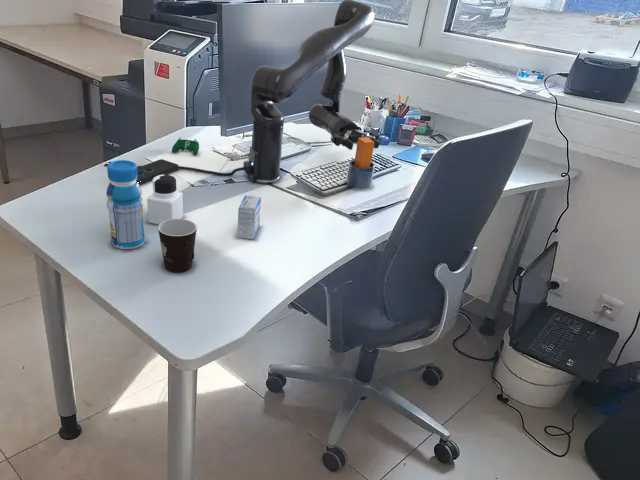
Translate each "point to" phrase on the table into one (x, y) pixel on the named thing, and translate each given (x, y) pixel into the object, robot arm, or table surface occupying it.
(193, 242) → the coffee mug
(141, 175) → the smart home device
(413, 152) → the table surface
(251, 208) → the medicine box
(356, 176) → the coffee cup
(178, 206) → the medicine bottle
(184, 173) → the table surface
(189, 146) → the gaming controller
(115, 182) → the beverage bottle
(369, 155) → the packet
